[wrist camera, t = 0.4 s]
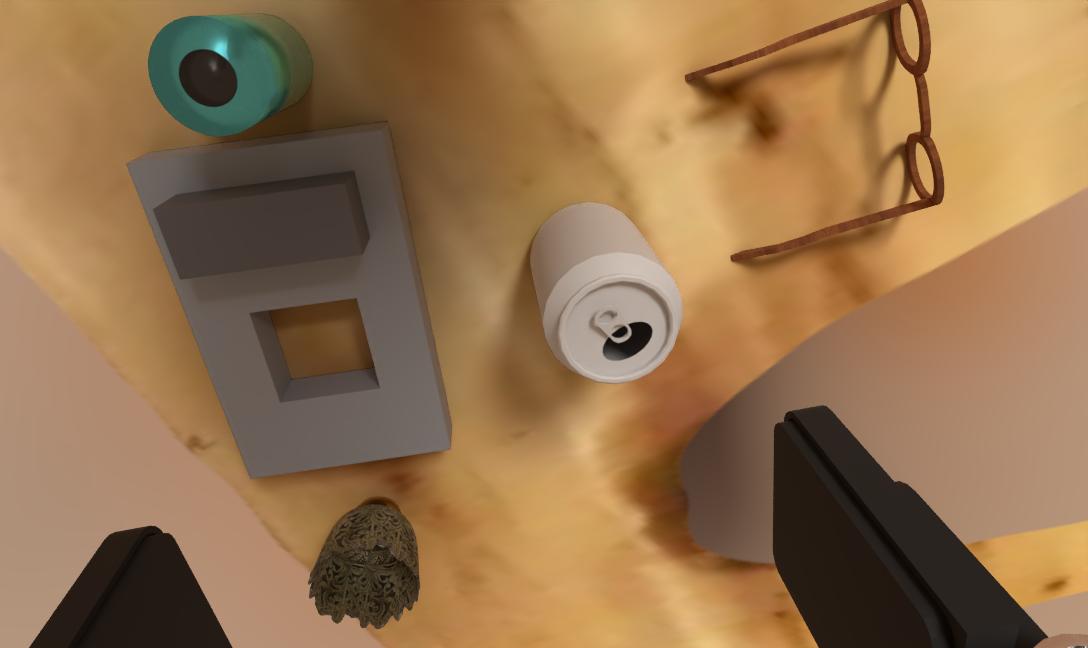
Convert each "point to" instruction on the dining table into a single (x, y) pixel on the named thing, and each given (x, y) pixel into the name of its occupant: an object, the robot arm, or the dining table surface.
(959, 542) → the robot arm
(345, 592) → the cup
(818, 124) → the dining table surface
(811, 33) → the glasses
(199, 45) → the teal translucent cylinder
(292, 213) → the plate
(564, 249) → the can
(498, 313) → the dining table surface
